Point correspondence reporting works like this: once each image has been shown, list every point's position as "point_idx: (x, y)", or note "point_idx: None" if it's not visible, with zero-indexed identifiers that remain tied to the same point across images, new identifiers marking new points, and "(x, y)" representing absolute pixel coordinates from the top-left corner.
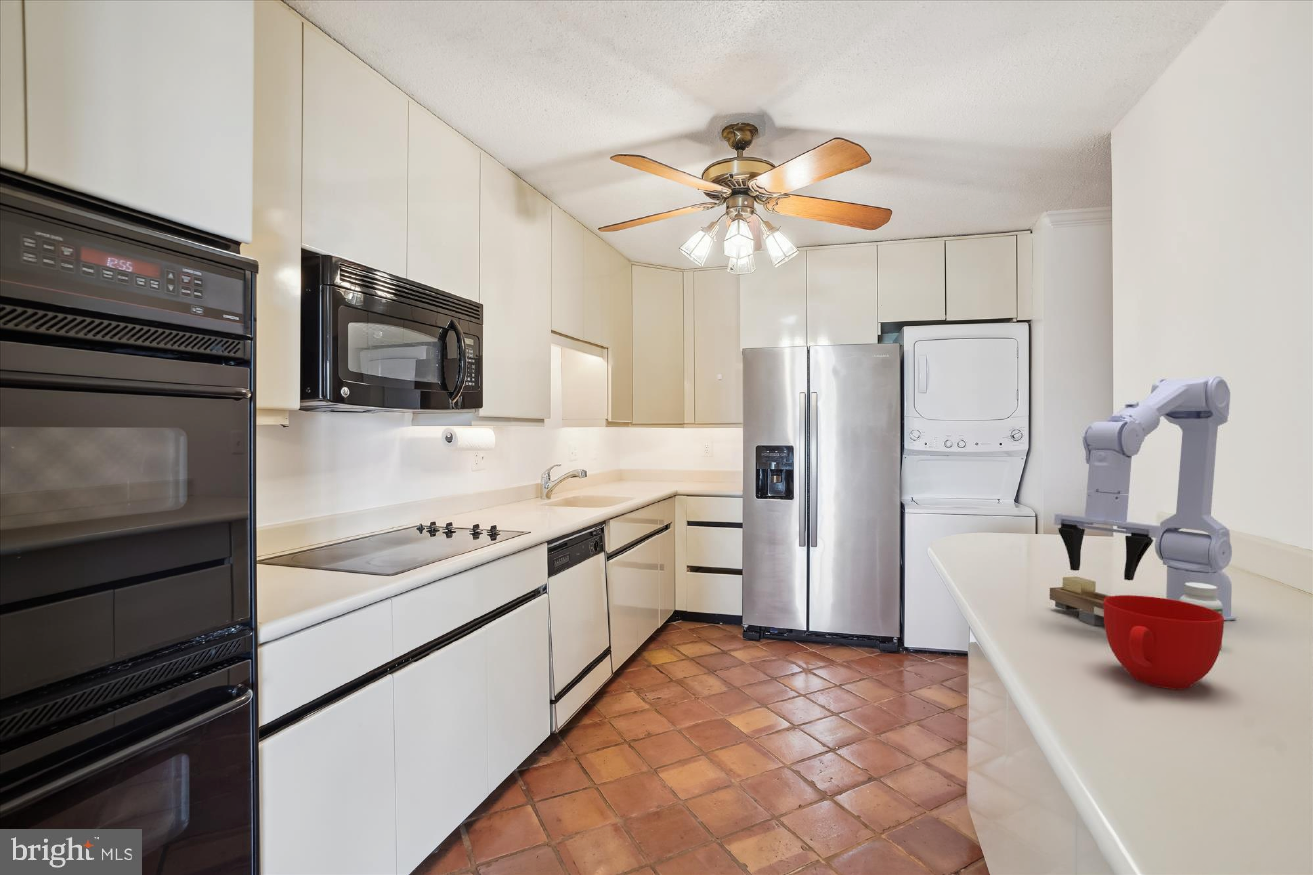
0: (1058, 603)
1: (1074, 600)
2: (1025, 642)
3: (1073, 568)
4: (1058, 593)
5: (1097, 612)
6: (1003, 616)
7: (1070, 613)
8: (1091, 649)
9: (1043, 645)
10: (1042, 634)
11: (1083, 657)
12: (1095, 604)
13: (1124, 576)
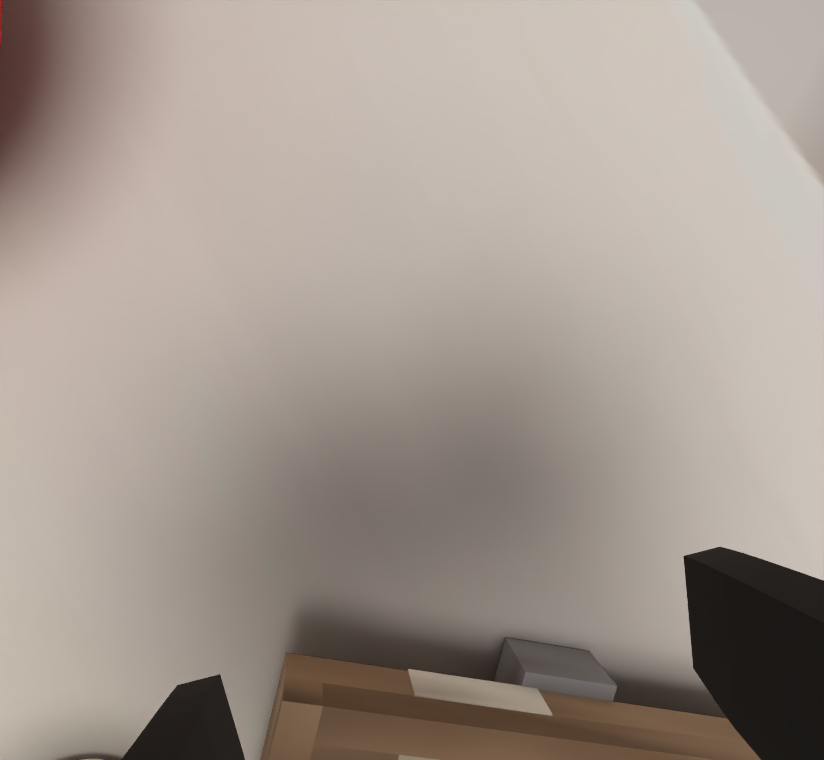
0: None
1: (680, 734)
2: (507, 6)
3: (708, 559)
4: None
5: (519, 693)
6: (813, 352)
7: None
8: (284, 221)
9: (435, 46)
10: (545, 235)
11: (223, 40)
12: (549, 723)
13: (206, 687)
